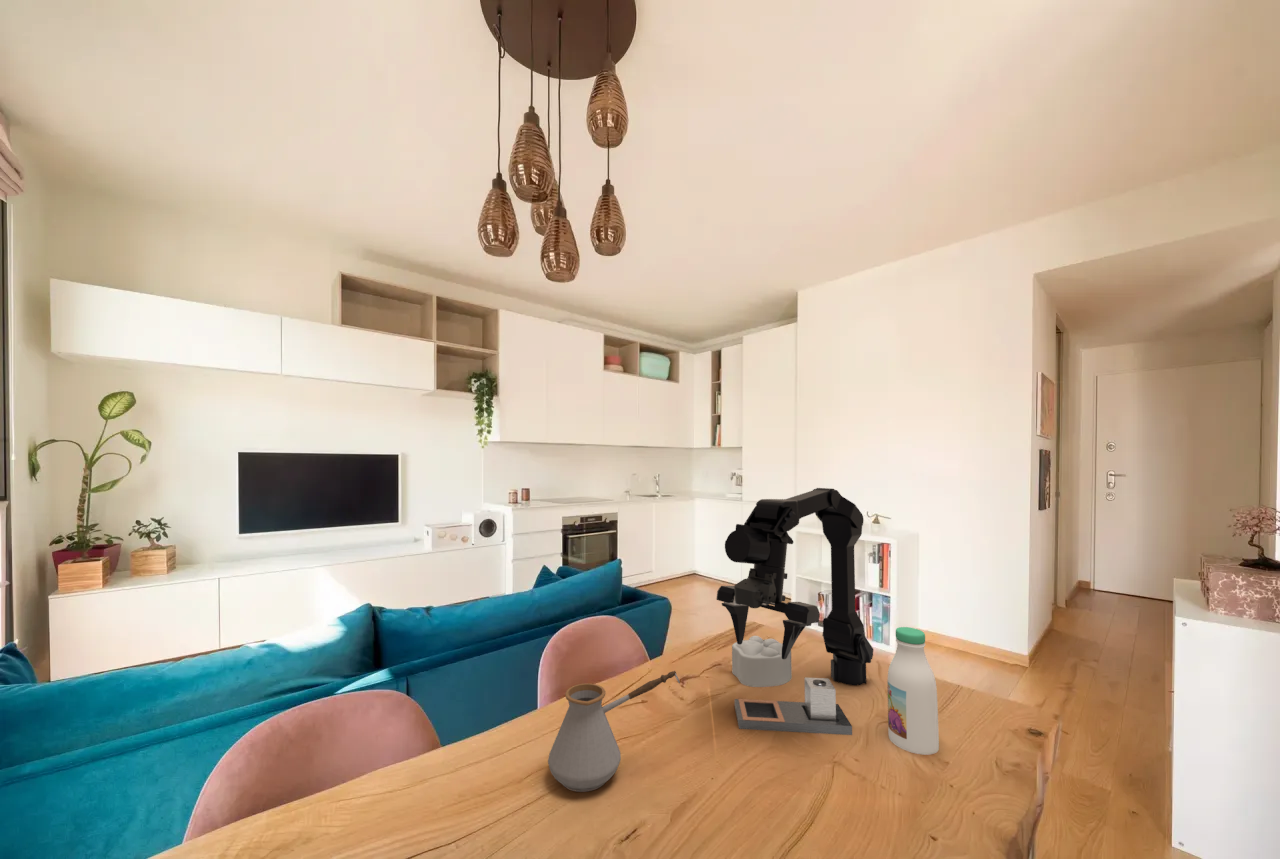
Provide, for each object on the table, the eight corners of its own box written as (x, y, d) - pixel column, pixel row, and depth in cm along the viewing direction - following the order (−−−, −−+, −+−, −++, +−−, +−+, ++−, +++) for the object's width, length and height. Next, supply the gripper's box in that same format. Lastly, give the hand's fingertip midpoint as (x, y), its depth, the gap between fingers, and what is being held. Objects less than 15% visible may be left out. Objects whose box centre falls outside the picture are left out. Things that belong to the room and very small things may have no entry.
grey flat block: (838, 717, 96) (838, 703, 96) (852, 740, 88) (852, 725, 88) (734, 711, 97) (734, 698, 98) (739, 734, 89) (738, 719, 90)
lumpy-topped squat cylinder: (728, 672, 115) (728, 635, 116) (779, 668, 118) (779, 632, 118) (745, 693, 105) (745, 652, 106) (801, 688, 108) (800, 648, 108)
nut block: (829, 715, 94) (828, 677, 95) (836, 728, 90) (835, 688, 90) (805, 714, 94) (804, 676, 95) (811, 727, 90) (810, 687, 90)
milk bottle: (936, 741, 88) (932, 627, 89) (942, 765, 81) (938, 641, 82) (887, 731, 91) (885, 620, 92) (889, 753, 84) (886, 634, 85)
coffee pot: (548, 805, 71) (549, 698, 72) (547, 758, 82) (548, 666, 83) (689, 787, 75) (689, 686, 76) (670, 744, 86) (670, 657, 87)
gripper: (705, 555, 94) (694, 640, 92) (796, 573, 82) (787, 673, 79) (736, 558, 102) (727, 636, 100) (823, 575, 89) (816, 665, 87)
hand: (760, 651), depth 91 cm, fingers open, 9 cm apart
